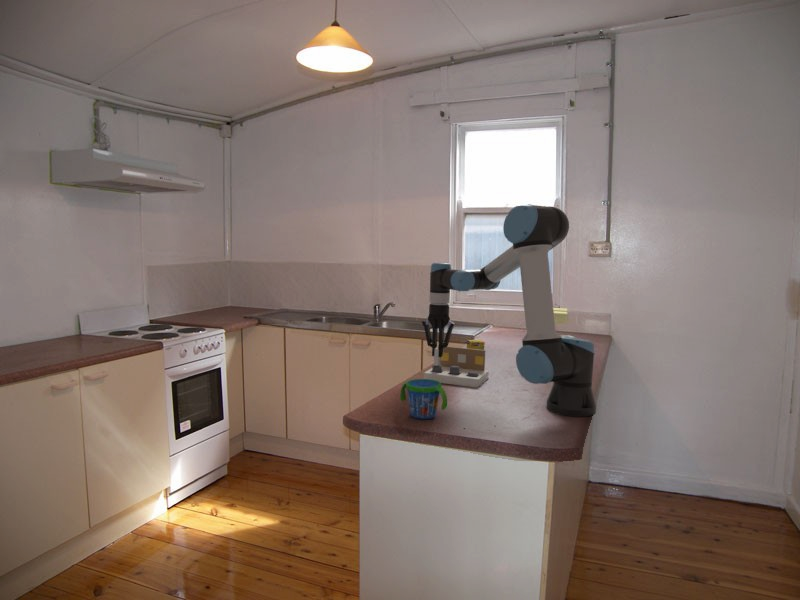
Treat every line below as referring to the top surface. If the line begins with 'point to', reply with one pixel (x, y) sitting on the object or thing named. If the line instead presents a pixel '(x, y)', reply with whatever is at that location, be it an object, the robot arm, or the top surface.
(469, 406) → the top surface
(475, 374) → the button right
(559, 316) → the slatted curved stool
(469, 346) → the supplement box
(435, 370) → the button left
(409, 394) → the snack cup
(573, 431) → the top surface
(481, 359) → the button panel
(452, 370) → the button middle
